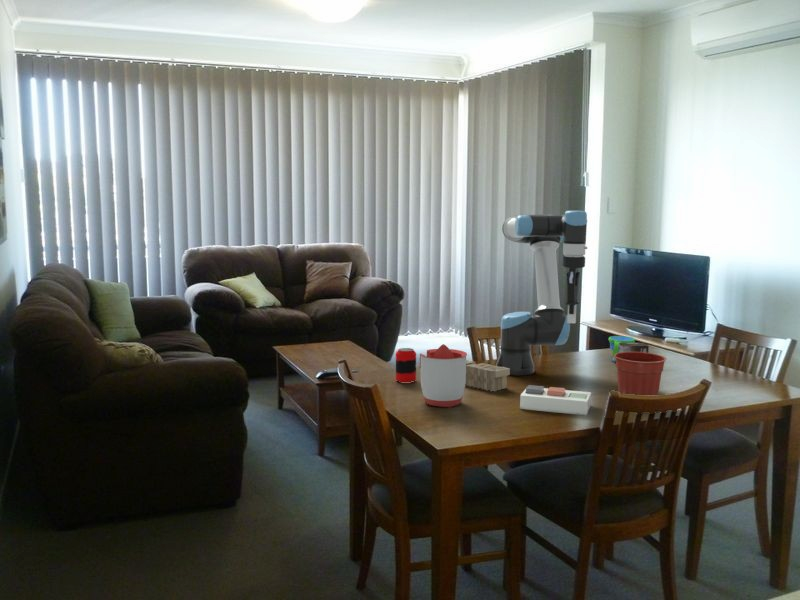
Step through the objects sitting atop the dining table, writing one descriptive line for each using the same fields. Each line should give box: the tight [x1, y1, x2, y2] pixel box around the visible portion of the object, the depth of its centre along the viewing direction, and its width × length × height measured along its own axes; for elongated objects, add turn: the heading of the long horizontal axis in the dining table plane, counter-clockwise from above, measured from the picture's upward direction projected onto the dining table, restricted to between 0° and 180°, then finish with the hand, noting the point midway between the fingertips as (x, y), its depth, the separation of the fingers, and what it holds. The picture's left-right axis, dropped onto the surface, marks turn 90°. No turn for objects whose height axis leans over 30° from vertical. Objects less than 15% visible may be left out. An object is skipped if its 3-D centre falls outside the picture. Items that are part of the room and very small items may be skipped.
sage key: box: [570, 394, 587, 399], centre depth 242 cm, size 5×5×3 cm
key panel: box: [519, 387, 592, 416], centre depth 245 cm, size 21×12×4 cm, turn 70°
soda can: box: [395, 347, 417, 382], centre depth 279 cm, size 8×8×12 cm
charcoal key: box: [525, 384, 545, 395], centre depth 247 cm, size 5×5×3 cm
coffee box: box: [619, 342, 650, 353], centre depth 270 cm, size 9×6×16 cm
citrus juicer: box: [416, 344, 468, 408], centre depth 249 cm, size 16×17×20 cm
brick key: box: [547, 386, 566, 397], centre depth 244 cm, size 5×5×3 cm
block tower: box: [465, 359, 511, 392], centre depth 276 cm, size 8×8×29 cm
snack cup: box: [608, 335, 636, 364], centre depth 312 cm, size 16×10×10 cm
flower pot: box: [614, 352, 667, 396], centre depth 248 cm, size 16×16×16 cm
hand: (571, 322), depth 262 cm, fingers closed
